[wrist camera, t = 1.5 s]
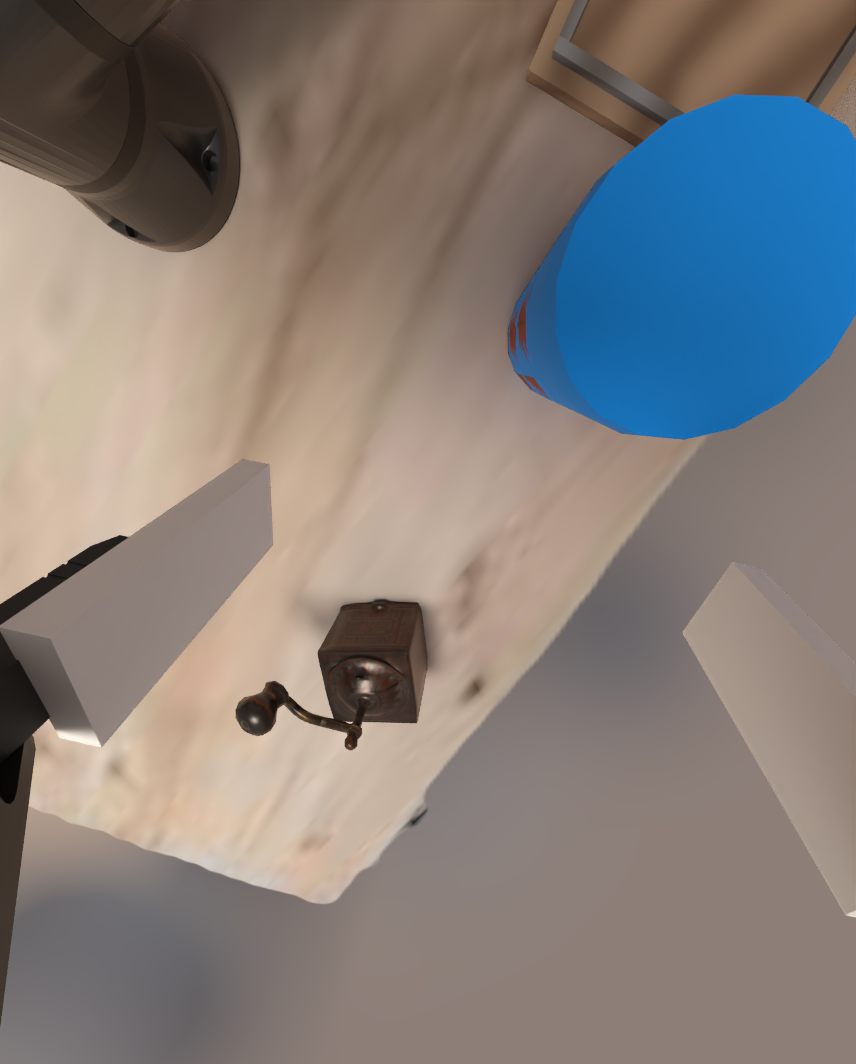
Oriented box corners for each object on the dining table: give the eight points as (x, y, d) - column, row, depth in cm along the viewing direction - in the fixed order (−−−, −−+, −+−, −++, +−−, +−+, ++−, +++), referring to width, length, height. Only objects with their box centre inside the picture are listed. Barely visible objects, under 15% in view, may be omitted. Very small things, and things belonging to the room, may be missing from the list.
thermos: (641, 273, 35) (964, 92, 12) (609, 402, 39) (801, 456, 16) (514, 264, 35) (584, 80, 12) (497, 391, 40) (525, 429, 17)
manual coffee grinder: (420, 597, 50) (392, 712, 33) (429, 668, 54) (408, 801, 37) (302, 600, 52) (221, 710, 35) (319, 668, 56) (254, 794, 39)
